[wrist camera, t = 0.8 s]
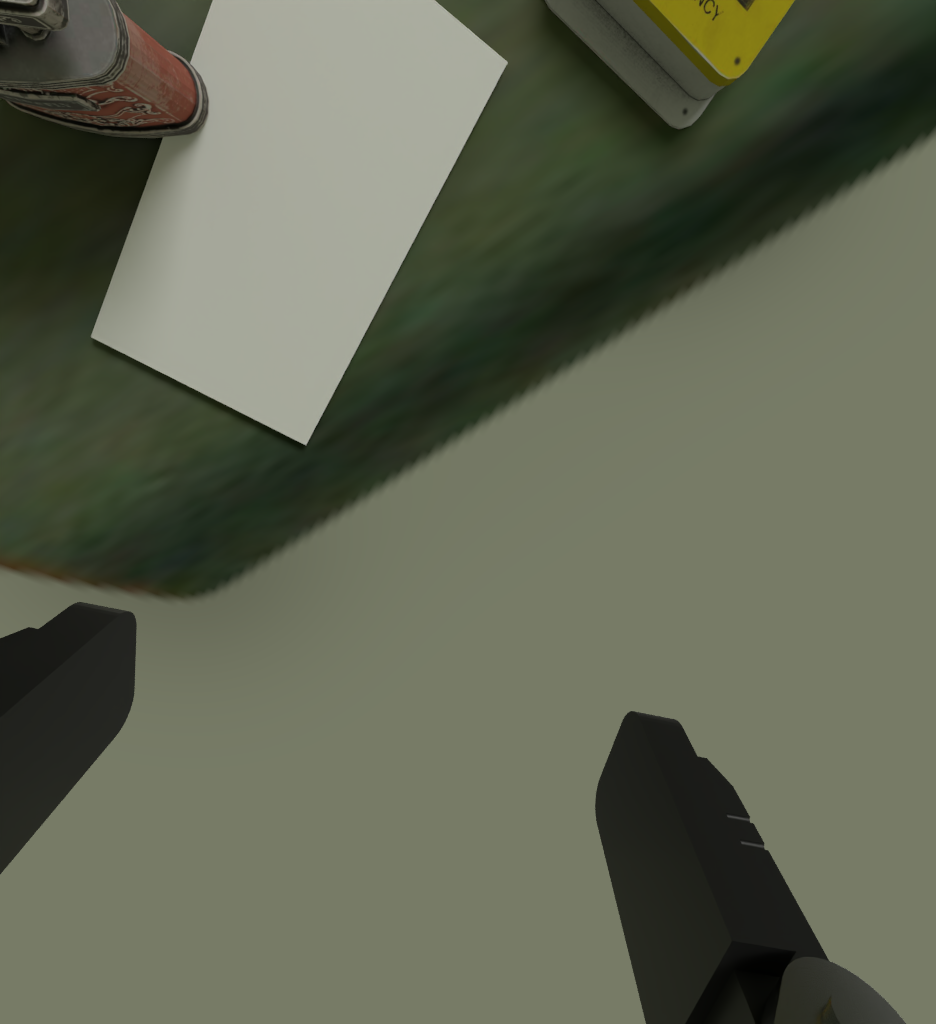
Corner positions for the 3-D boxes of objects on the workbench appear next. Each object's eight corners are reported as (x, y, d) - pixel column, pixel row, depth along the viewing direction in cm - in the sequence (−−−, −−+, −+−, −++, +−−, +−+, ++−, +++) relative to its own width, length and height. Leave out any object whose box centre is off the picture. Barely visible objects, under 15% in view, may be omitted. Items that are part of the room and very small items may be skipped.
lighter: (13, 125, 23) (-257, 27, 14) (-6, 23, 22) (-316, -156, 13) (212, 148, 24) (77, 69, 15) (205, 51, 23) (53, -101, 14)
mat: (95, 335, 27) (90, 337, 27) (267, -135, 21) (264, -144, 21) (307, 442, 31) (305, 445, 30) (505, 65, 25) (507, 62, 24)
